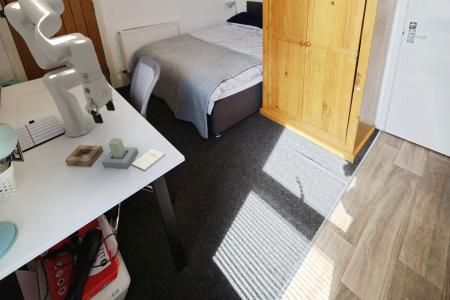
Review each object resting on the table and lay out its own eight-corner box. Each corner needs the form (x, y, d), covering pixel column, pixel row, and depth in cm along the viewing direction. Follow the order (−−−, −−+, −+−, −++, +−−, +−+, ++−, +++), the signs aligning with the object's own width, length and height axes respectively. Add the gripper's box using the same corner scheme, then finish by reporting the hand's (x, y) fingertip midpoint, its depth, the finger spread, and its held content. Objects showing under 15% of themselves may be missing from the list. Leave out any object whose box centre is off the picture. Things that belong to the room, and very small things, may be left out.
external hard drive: (131, 166, 119) (152, 151, 127) (145, 172, 115) (165, 156, 123) (130, 163, 118) (151, 148, 126) (144, 169, 114) (165, 153, 122)
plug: (115, 162, 121) (108, 143, 115) (119, 156, 124) (112, 138, 118) (123, 163, 120) (117, 144, 114) (127, 157, 124) (121, 138, 118)
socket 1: (67, 165, 121) (64, 160, 120) (81, 150, 130) (79, 145, 128) (90, 166, 120) (88, 161, 118) (103, 151, 128) (101, 146, 127)
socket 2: (103, 167, 119) (101, 161, 117) (115, 151, 127) (113, 146, 126) (127, 168, 117) (125, 163, 115) (138, 152, 126) (136, 147, 124)
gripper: (87, 84, 92) (103, 128, 102) (112, 65, 106) (124, 106, 116) (67, 84, 93) (85, 128, 103) (93, 65, 107) (107, 105, 117)
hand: (105, 116), depth 110 cm, fingers open, 9 cm apart
